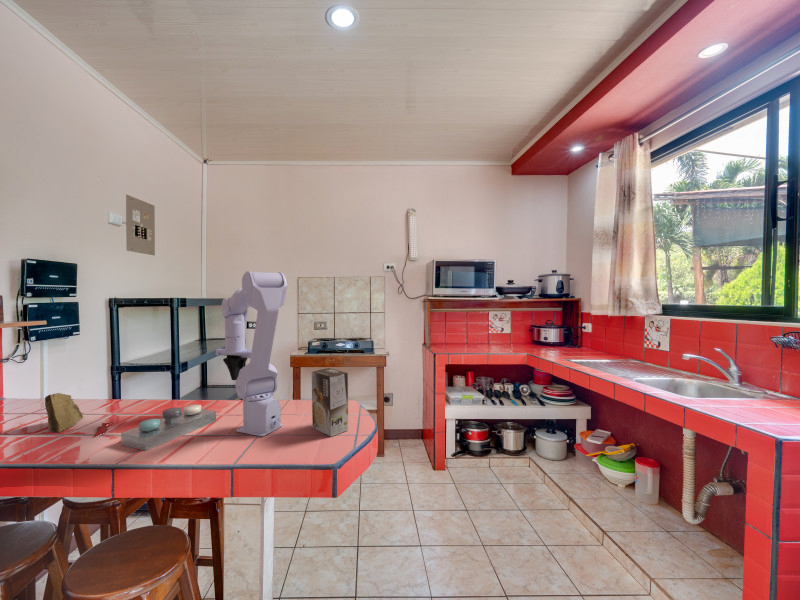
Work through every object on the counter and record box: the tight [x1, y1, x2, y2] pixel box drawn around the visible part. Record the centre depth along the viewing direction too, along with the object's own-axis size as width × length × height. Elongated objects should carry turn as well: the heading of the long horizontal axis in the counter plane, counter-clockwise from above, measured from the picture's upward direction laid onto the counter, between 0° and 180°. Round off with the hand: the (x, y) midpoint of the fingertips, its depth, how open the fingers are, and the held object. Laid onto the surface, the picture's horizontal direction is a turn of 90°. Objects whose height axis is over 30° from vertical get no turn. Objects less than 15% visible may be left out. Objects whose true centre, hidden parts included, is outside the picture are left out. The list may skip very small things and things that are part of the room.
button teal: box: [138, 418, 161, 433], centre depth 89 cm, size 4×4×4 cm
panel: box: [120, 408, 217, 452], centre depth 95 cm, size 9×20×3 cm, turn 159°
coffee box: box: [311, 367, 349, 437], centre depth 97 cm, size 9×6×16 cm
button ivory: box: [182, 403, 202, 416], centre depth 100 cm, size 4×4×4 cm
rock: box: [44, 392, 84, 433], centre depth 100 cm, size 11×9×10 cm
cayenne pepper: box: [92, 421, 113, 439], centre depth 96 cm, size 12×5×2 cm, turn 8°
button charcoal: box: [161, 407, 183, 424], centre depth 95 cm, size 4×4×4 cm
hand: (235, 379), depth 110 cm, fingers closed
